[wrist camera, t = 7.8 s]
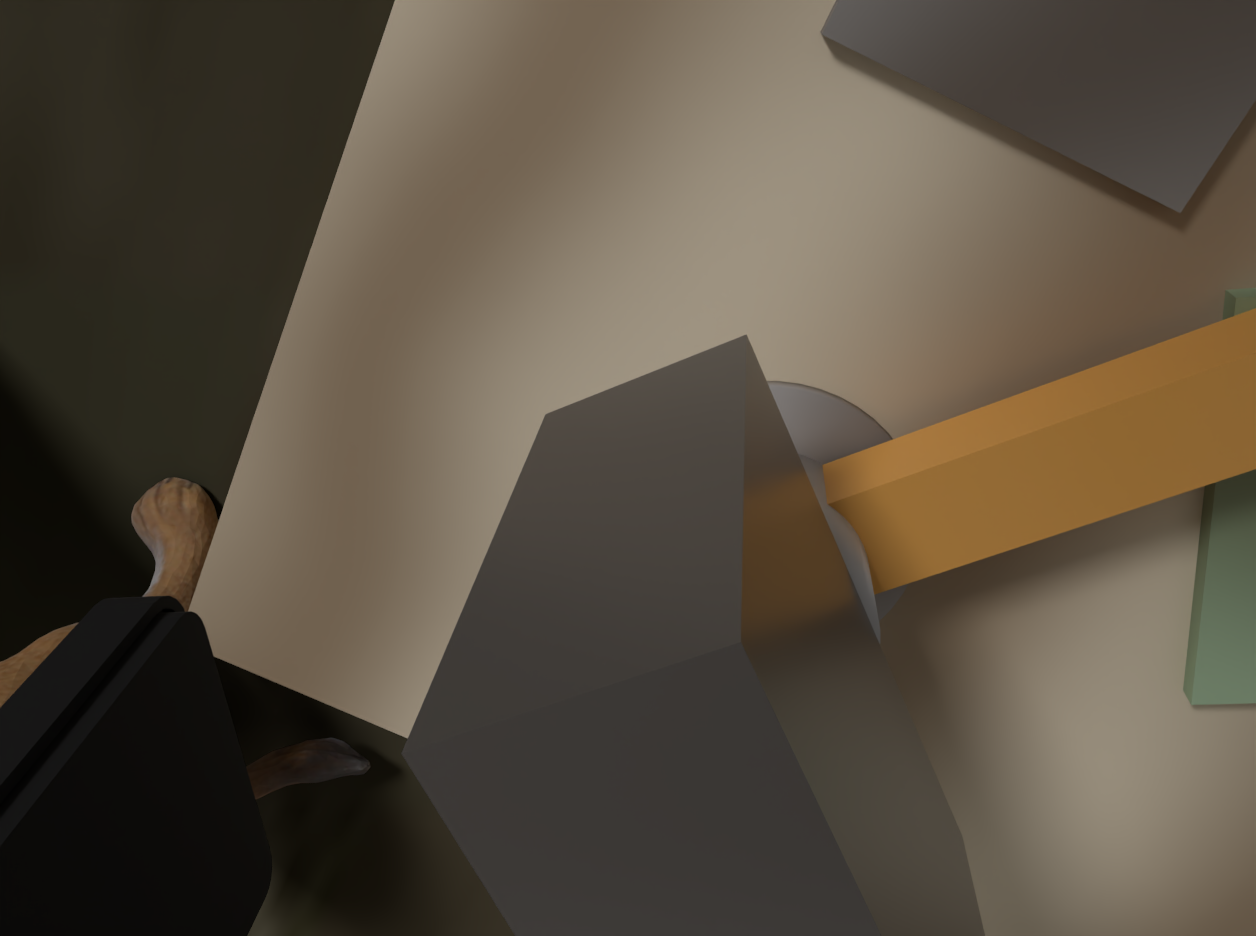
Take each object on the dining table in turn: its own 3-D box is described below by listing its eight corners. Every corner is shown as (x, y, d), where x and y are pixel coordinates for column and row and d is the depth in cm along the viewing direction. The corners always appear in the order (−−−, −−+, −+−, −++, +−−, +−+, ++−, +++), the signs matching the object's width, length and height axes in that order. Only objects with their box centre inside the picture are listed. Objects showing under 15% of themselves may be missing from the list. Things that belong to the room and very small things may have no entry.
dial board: (251, 550, 18) (167, 654, 15) (599, -425, 13) (560, -514, 10) (1123, 928, 19) (1179, 1080, 17) (1773, 194, 14) (2002, 255, 11)
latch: (773, 759, 15) (787, 1392, 9) (568, 342, 13) (385, 759, 7) (1495, 544, 13) (2237, 1165, 7) (1387, 6, 11) (2305, 128, 4)
